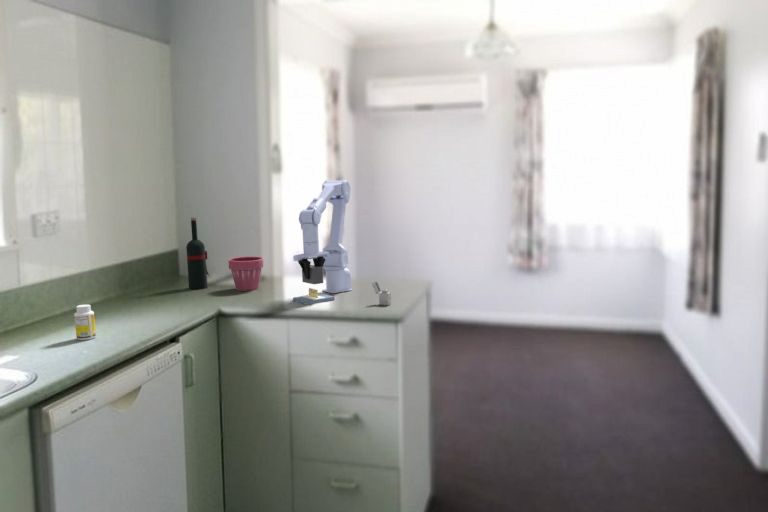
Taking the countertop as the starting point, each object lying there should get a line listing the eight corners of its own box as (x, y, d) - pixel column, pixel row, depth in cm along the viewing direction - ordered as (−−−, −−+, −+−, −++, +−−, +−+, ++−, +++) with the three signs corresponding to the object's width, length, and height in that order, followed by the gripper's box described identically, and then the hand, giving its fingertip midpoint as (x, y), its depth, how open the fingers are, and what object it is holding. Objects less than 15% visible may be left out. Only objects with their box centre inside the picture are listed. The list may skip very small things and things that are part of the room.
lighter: (391, 304, 252) (390, 282, 251) (388, 305, 250) (387, 283, 249) (375, 302, 256) (374, 280, 255) (372, 303, 254) (371, 281, 253)
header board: (320, 296, 272) (320, 285, 271) (334, 299, 264) (333, 288, 263) (293, 300, 265) (292, 289, 264) (306, 304, 257) (305, 292, 256)
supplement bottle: (90, 335, 220) (87, 303, 219) (99, 337, 217) (96, 305, 215) (73, 339, 216) (70, 306, 215) (82, 341, 212) (79, 308, 211)
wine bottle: (215, 285, 304) (210, 216, 300) (199, 290, 295) (194, 218, 291) (201, 285, 308) (196, 216, 304) (184, 289, 299) (179, 218, 295)
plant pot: (270, 289, 292) (268, 258, 290) (238, 293, 284) (236, 262, 282) (256, 284, 304) (254, 255, 302) (225, 288, 296) (223, 258, 294)
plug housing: (311, 280, 268) (310, 264, 267) (323, 282, 261) (322, 266, 261) (302, 281, 265) (301, 266, 264) (314, 284, 259) (313, 268, 258)
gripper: (321, 239, 269) (323, 274, 271) (288, 243, 260) (290, 279, 262) (331, 240, 263) (333, 276, 265) (298, 244, 254) (300, 281, 256)
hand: (312, 278), depth 263 cm, fingers closed on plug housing, 4 cm apart
